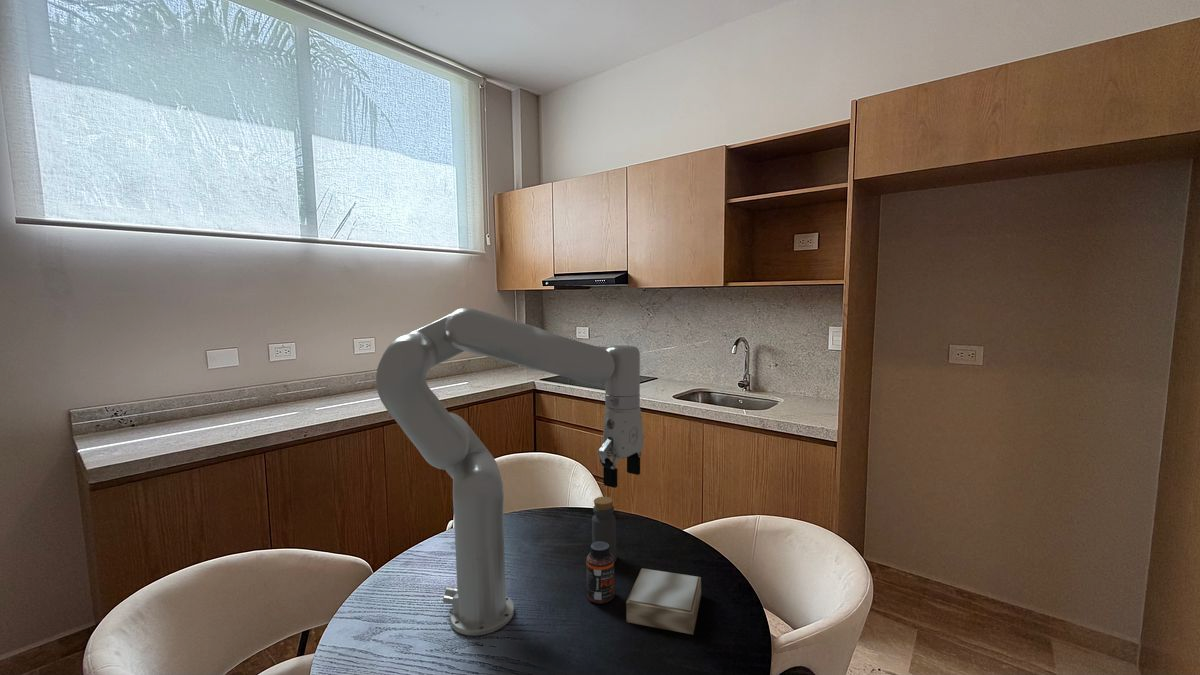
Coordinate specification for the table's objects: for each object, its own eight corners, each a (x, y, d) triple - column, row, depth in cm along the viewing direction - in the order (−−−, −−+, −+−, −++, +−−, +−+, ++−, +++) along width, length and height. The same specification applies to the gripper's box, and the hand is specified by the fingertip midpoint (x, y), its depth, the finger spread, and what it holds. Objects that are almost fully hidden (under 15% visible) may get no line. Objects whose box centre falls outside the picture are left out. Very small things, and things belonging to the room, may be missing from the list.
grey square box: (626, 621, 94) (626, 600, 93) (641, 585, 106) (641, 566, 106) (693, 634, 89) (692, 612, 89) (701, 595, 102) (700, 575, 102)
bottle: (616, 565, 115) (615, 504, 114) (592, 565, 115) (590, 505, 114) (616, 553, 120) (615, 495, 120) (593, 553, 121) (591, 495, 120)
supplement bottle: (603, 608, 98) (602, 555, 97) (581, 598, 102) (580, 547, 101) (620, 594, 103) (619, 543, 102) (598, 585, 106) (597, 536, 106)
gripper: (616, 410, 94) (616, 495, 95) (656, 398, 109) (655, 472, 109) (585, 406, 98) (585, 488, 99) (627, 395, 113) (627, 466, 114)
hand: (622, 479), depth 104 cm, fingers open, 9 cm apart
